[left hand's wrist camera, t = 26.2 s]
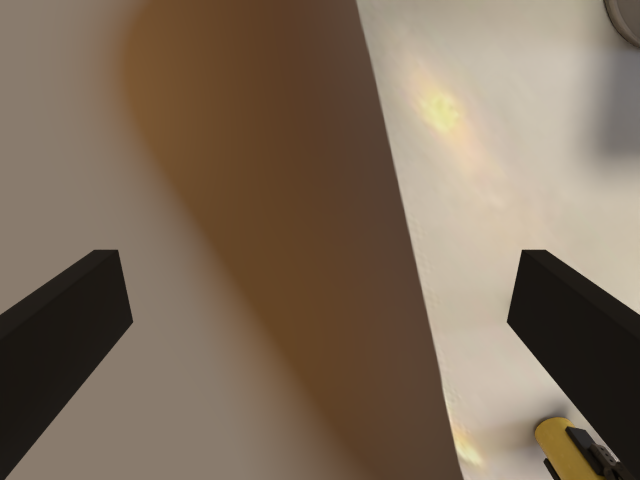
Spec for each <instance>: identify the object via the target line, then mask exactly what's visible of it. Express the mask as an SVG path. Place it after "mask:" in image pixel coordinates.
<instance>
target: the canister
mask: <svg viewBox="0 0 640 480" xmlns="http://www.w3.org/2000/svg"><path fill="white" fill-rule="evenodd" d="M567 426H570V427H574V425H573V424H572V423H571V422H570V421H569V420H568V419H565V418H561V417H555V418H550V419H547V420H545V421H543V422H542V423H541V424H540V425H539V426H538V427H537V428H536V431H535V438H536V440H537V442H538V443H539V445H540V446H541V448H542V450H543V451H544V453H545V455H546V456H547V458H548V459H549V461H550V463H551V464H552V466H553V467H554V469H555V471H556V472H557V474H558V476H559V477H560V479H561V480H606V478H605V477H604V476H600V475H597V474H596V473H595V471H594V470H593V469H592V467H591V466H590V464H589V463H588V462H587V460H586V459H585V458H584V456H583V455H582V453H581V452H580V451H579V449H578V448H577V446H576V445H575V444H574V442H573V441H572V440H571V438H570V437H569V435H568V434H567V433H566V431H565V429H566V427H567ZM574 428H575V427H574Z"/></svg>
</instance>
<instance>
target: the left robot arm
mask: <svg viewBox="0 0 640 480" xmlns="http://www.w3.org/2000/svg"><path fill="white" fill-rule="evenodd" d="M605 4H606V7H607V11H608V14H609V17H610V19H611V21H612V23H613V25H614V26H615V28H616V29H617V31H618V32H619V33H620V34H621V35H622V36H623V37H624V38H625V39H626V40H627V41H628V42H630V43H631V44H633V45H635V46H637V47H639V48H640V0H605ZM132 323H133V319H132V314H131V309H130V305H129V300H128V295H127V290H126V286H125V281H124V276H123V271H122V267H121V262H120V257H119V252H118V250H93V251H92V252H90V253H89V254H88V255H86V256H85V257H83V258H82V259H80V260H79V261H77V262H76V263H75V264H73V265H72V266H70V267H69V268H67V269H66V270H64V271H63V272H62V273H60V274H59V275H57V276H56V277H54V278H53V279H51V280H50V281H49V282H47V283H46V284H44V285H43V286H41V287H40V288H38V289H37V290H36V291H34V292H33V293H31V294H30V295H28V296H27V297H25V298H24V299H23V300H21V301H20V302H18V303H17V304H15V305H14V306H12V307H11V308H10V309H8V310H7V311H5V312H4V313H2V314H1V315H0V480H5V478H6V477H7V476H8V475H9V474H10V472H11V471H12V470H13V469H14V467H15V466H16V465H17V464H18V463H19V461H20V460H21V459H22V458H23V456H24V455H25V454H26V453H27V452H28V450H29V449H30V448H31V447H32V445H33V444H34V443H35V442H36V441H37V439H38V438H39V437H40V436H41V434H42V433H43V432H44V431H45V430H46V428H47V427H48V426H49V425H50V423H51V422H52V421H53V420H54V419H55V417H56V416H57V415H58V414H59V412H60V411H61V410H62V409H63V407H64V406H65V405H66V404H67V403H68V401H69V400H70V399H71V398H72V396H73V395H74V394H75V393H76V391H77V390H78V389H79V388H80V387H81V385H82V384H83V383H84V382H85V381H86V379H87V378H88V377H89V376H90V374H91V373H92V372H93V371H94V370H95V368H96V367H97V366H98V365H99V363H100V362H101V361H102V360H103V359H104V357H105V356H106V355H107V354H108V352H109V351H110V350H111V349H112V348H113V346H114V345H115V344H116V343H117V341H118V340H119V339H120V338H121V337H122V335H123V334H124V333H125V332H126V330H127V329H128V328H129V327H130V325H131V324H132ZM507 323H508V324H509V326H510V327H511V328H512V329H513V330H514V332H515V333H516V334H517V335H518V337H519V338H520V339H521V340H522V341H523V343H524V344H525V345H526V346H527V348H528V349H529V350H530V351H531V352H532V354H533V355H534V356H535V357H536V359H537V360H538V361H539V362H540V363H541V365H542V366H543V367H544V368H545V370H546V371H547V372H548V373H549V374H550V376H551V377H552V378H553V379H554V381H555V382H556V383H557V384H558V385H559V387H560V388H561V389H562V390H563V392H564V393H565V394H566V395H567V396H568V398H569V399H570V400H571V401H572V403H573V404H574V405H575V406H576V408H577V409H578V410H579V411H580V412H581V414H582V415H583V416H584V417H585V419H586V420H587V421H588V422H589V423H590V425H591V426H592V427H593V428H594V430H595V431H596V432H597V433H598V434H599V436H600V437H601V438H602V439H603V441H604V442H605V443H606V444H607V445H608V447H609V448H610V449H611V450H612V452H613V453H614V454H615V455H616V456H617V458H618V459H619V460H620V461H621V463H622V464H623V465H624V466H625V467H626V469H627V470H628V471H629V472H630V474H631V475H632V476H633V477H634V478H635V480H640V315H639V314H638V313H636V312H635V311H633V310H632V309H630V308H629V307H628V306H626V305H625V304H623V303H622V302H620V301H619V300H617V299H616V298H615V297H613V296H612V295H610V294H609V293H607V292H606V291H604V290H603V289H602V288H600V287H599V286H597V285H596V284H594V283H593V282H591V281H590V280H589V279H587V278H586V277H584V276H583V275H581V274H580V273H578V272H577V271H576V270H574V269H573V268H571V267H570V266H568V265H567V264H565V263H564V262H563V261H561V260H560V259H558V258H557V257H555V256H554V255H552V254H551V253H550V252H548V251H547V250H522V252H521V257H520V262H519V267H518V271H517V276H516V281H515V286H514V290H513V295H512V300H511V305H510V309H509V314H508V319H507Z"/></svg>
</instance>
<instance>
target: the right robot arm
mask: <svg viewBox="0 0 640 480" xmlns="http://www.w3.org/2000/svg"><path fill="white" fill-rule="evenodd" d="M565 431H566V433H567V434H568V435H569V437H570V438H571V440H572V441H573V442H574V444H575V445H576V446H577V448H578V449H579V451H580V452H581V453H582V455H583V456H584V458H585V459H586V460H587V462H588V463H589V464H590V466H591V467H592V469H593V470H594V471H595V473H596V474H597V475H600V476H604V477H605V478H606V480H635V478H634V477H633V476H632V475H631V474H630V472H629V471H628V470H627V469H626V467H625V466H624V465H623V464H622V463H621V462H616V461H615V459H614V458H613V457H612V456H611V454H610V453H609V452H608V451H607V449H606V448H605V447H603V446H601V445H597V444H596V443H595V442H594V440H593V439H592V438H591V437H590V435H589V434H588V433H587V432H586V430H583V429H578V428H574V427H570V426H567V427H566V429H565ZM543 462H544V464H545V466H546V467H547V469H548V471H549V472H550V474H551V476H552V477H553V479H554V480H561V479H560V477H559V476H558V474H557V472H556V471H555V469H554V467H553V466H552V464H551V463H550V461H549V459H548V458H545V460H544V461H543Z"/></svg>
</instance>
